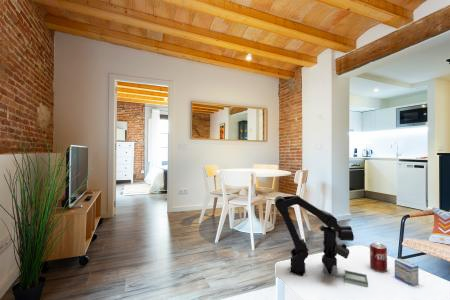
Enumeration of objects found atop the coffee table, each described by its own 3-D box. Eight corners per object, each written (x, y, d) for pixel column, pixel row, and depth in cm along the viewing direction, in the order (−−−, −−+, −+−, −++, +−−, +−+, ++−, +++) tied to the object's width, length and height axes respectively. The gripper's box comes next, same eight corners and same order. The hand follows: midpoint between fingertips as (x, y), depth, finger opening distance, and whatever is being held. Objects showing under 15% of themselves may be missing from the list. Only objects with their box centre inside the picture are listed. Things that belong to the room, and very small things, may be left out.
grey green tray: (344, 281, 105) (344, 277, 105) (344, 274, 112) (344, 270, 112) (368, 287, 101) (367, 282, 101) (366, 278, 108) (366, 274, 108)
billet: (323, 274, 112) (323, 260, 112) (324, 270, 116) (323, 256, 116) (336, 277, 109) (336, 262, 109) (337, 273, 113) (336, 259, 113)
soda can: (390, 270, 114) (390, 247, 114) (380, 273, 112) (380, 249, 112) (376, 264, 121) (376, 241, 121) (366, 266, 118) (366, 244, 119)
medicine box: (394, 277, 109) (393, 259, 109) (400, 275, 110) (400, 257, 110) (412, 286, 101) (412, 267, 101) (419, 284, 103) (418, 265, 103)
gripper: (348, 250, 100) (349, 284, 100) (347, 235, 117) (348, 265, 117) (321, 245, 106) (322, 278, 106) (324, 232, 122) (324, 261, 122)
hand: (330, 270), depth 112 cm, fingers open, 6 cm apart
